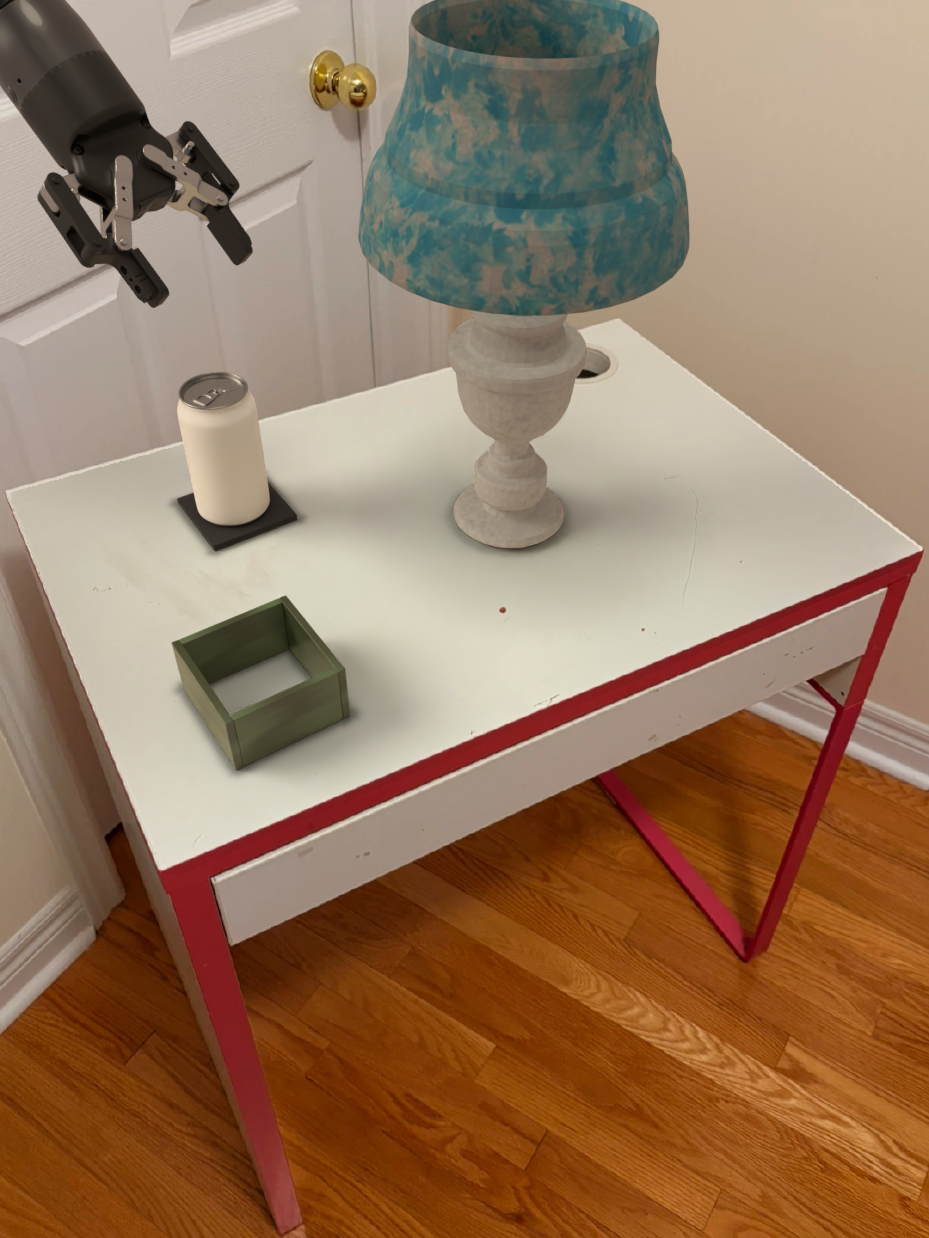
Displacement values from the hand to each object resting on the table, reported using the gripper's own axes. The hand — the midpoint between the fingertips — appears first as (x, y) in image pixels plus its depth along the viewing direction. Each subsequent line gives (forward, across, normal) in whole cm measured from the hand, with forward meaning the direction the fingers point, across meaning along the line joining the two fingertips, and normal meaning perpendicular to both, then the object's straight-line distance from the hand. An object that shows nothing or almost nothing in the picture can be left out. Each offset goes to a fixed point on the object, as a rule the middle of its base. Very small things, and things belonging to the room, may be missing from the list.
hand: (205, 279), depth 78 cm
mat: (+15, 0, +17) cm, 23 cm away
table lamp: (+29, +14, +3) cm, 33 cm away
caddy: (+28, -15, +5) cm, 32 cm away
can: (+15, 0, +17) cm, 22 cm away
